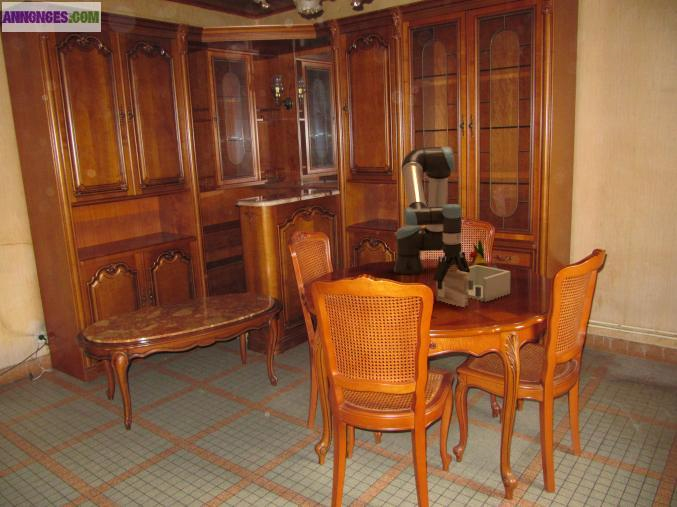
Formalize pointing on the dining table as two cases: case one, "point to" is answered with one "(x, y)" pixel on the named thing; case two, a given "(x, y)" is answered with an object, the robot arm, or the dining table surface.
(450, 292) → the door
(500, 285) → the cabinet
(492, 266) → the pocket watch
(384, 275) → the dining table surface
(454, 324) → the dining table surface
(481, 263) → the ornament
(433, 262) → the dining table surface
